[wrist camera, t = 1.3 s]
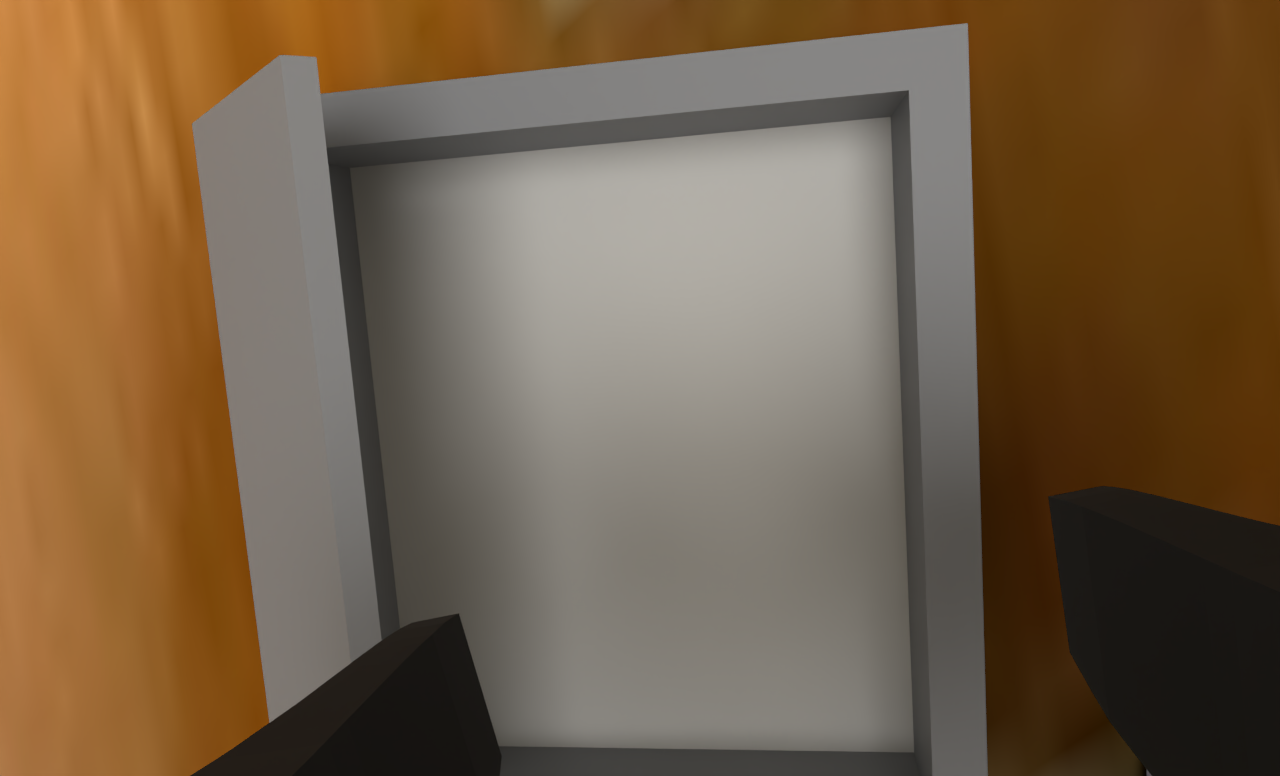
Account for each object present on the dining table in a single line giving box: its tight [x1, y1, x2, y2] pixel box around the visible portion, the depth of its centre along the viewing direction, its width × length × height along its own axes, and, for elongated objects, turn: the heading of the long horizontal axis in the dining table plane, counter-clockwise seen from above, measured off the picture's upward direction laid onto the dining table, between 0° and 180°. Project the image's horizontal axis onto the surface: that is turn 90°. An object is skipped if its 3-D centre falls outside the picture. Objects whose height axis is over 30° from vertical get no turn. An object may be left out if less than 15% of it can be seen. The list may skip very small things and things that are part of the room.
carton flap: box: [192, 55, 382, 722], centre depth 17 cm, size 6×15×1 cm
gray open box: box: [320, 23, 988, 776], centre depth 20 cm, size 14×16×4 cm
